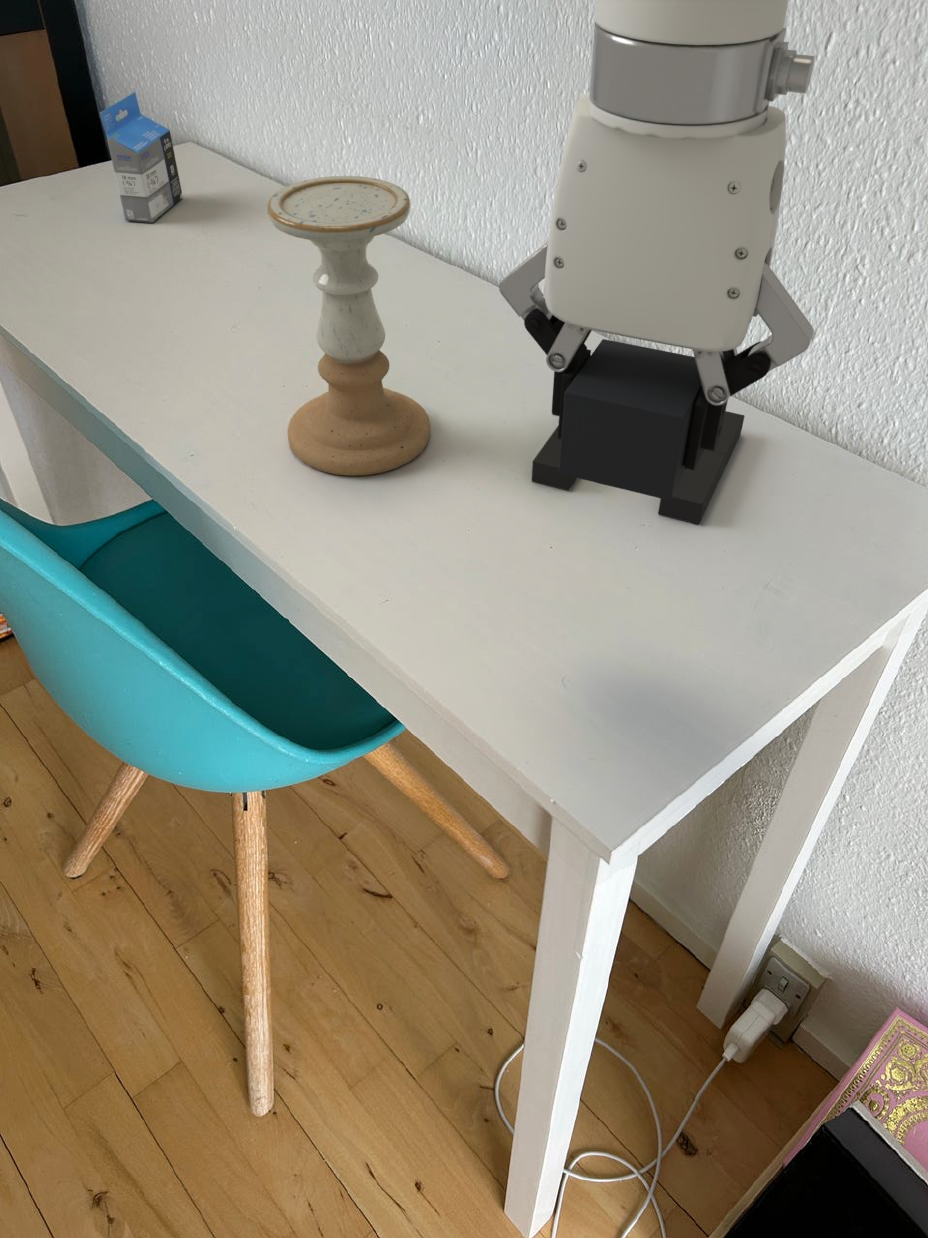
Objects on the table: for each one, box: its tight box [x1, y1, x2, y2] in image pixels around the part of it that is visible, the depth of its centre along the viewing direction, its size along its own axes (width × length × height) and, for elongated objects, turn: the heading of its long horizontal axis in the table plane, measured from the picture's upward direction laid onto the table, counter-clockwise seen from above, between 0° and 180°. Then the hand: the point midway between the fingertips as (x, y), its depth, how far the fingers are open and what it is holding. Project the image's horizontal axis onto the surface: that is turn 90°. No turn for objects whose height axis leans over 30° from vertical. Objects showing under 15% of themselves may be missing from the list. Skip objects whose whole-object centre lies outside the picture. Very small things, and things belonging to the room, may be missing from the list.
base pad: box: [531, 410, 745, 525], centre depth 82 cm, size 14×14×2 cm
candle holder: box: [267, 175, 431, 476], centre depth 78 cm, size 12×12×20 cm
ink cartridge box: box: [99, 91, 184, 224], centre depth 119 cm, size 9×4×12 cm, turn 167°
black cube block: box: [559, 338, 702, 500], centre depth 52 cm, size 6×6×5 cm
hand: (632, 439), depth 53 cm, fingers closed on black cube block, 6 cm apart
